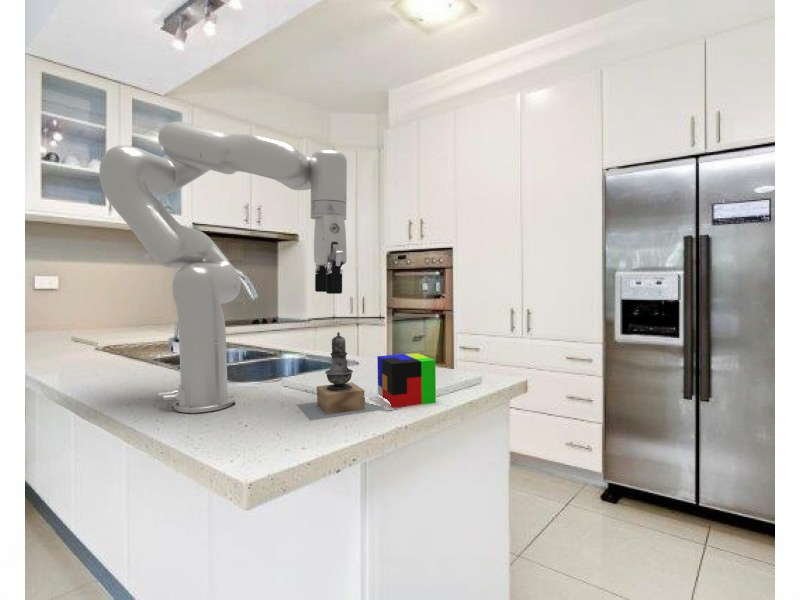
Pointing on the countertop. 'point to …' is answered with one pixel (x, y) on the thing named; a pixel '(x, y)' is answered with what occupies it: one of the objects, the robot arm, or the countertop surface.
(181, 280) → the robot arm
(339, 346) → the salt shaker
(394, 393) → the puzzle toy
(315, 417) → the slate mat
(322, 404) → the base block
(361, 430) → the countertop surface
